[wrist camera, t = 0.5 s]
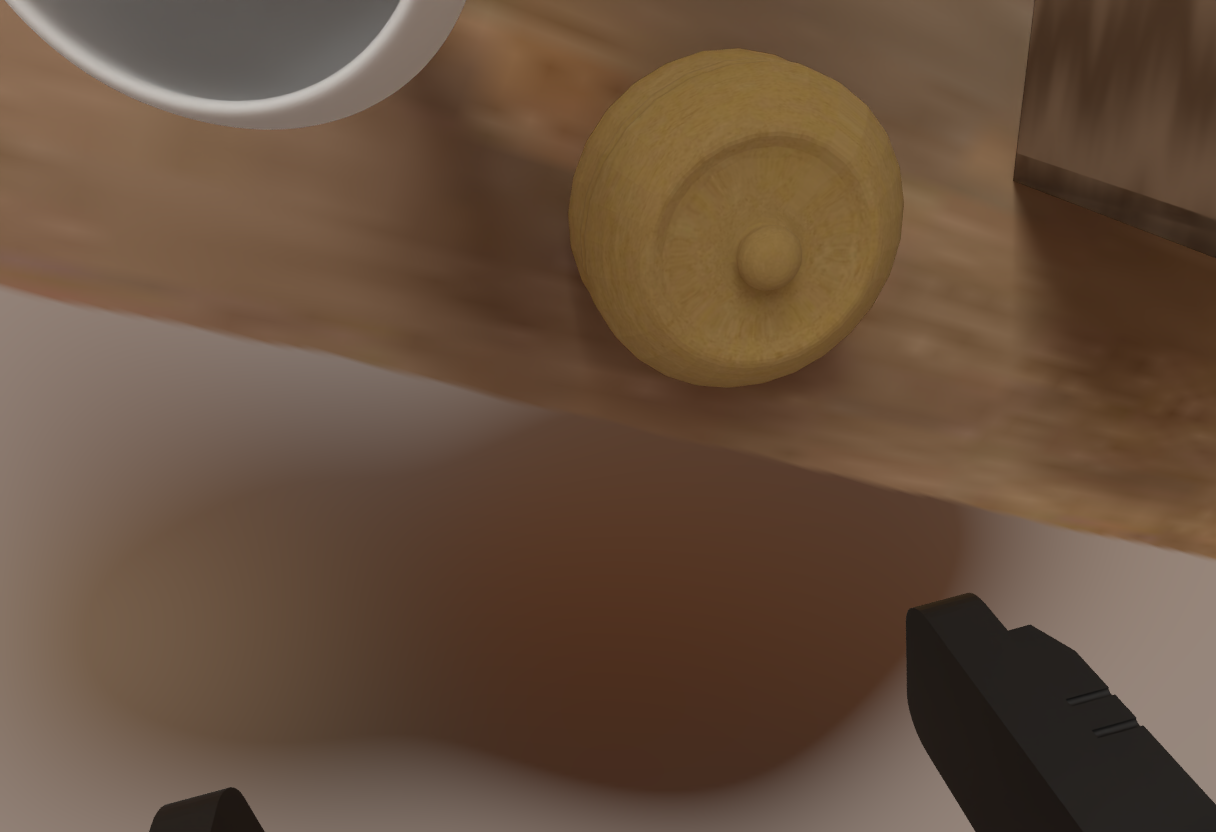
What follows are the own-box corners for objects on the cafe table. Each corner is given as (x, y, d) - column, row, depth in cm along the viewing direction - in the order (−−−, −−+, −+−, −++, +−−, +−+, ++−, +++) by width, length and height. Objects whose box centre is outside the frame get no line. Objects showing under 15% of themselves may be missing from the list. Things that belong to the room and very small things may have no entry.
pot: (497, 212, 36) (517, 295, 27) (693, -31, 33) (786, -27, 24) (698, 371, 41) (770, 485, 32) (883, 172, 38) (1018, 237, 29)
